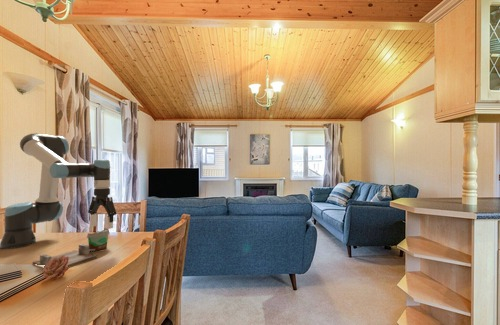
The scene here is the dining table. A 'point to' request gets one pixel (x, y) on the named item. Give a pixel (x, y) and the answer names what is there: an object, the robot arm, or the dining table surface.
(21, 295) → the dining table surface
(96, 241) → the food container
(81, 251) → the base
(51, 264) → the flower
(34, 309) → the dining table surface
